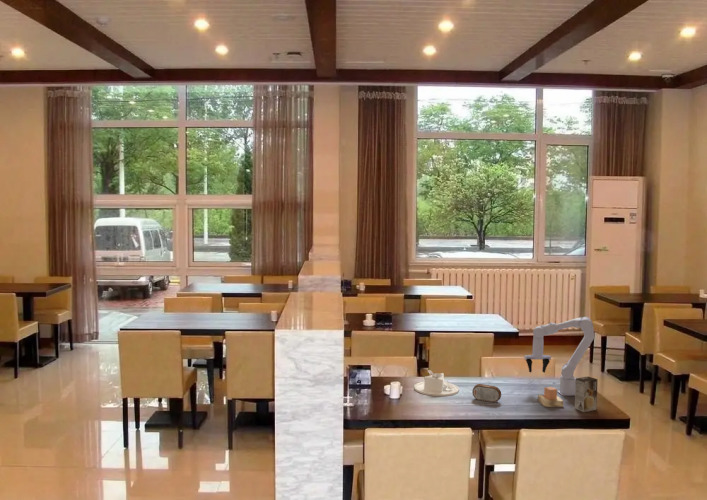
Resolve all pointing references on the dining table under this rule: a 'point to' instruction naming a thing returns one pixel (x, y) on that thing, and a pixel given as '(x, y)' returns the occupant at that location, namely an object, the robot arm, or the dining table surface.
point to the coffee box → (586, 394)
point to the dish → (436, 386)
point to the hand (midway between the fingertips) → (536, 372)
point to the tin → (486, 393)
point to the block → (550, 393)
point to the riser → (550, 401)
